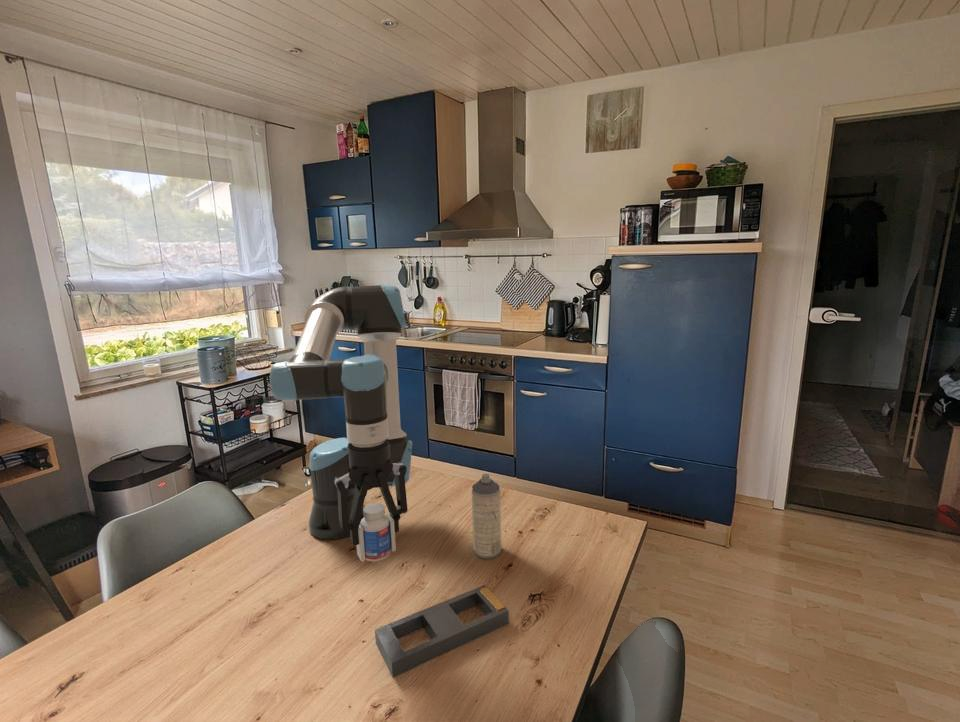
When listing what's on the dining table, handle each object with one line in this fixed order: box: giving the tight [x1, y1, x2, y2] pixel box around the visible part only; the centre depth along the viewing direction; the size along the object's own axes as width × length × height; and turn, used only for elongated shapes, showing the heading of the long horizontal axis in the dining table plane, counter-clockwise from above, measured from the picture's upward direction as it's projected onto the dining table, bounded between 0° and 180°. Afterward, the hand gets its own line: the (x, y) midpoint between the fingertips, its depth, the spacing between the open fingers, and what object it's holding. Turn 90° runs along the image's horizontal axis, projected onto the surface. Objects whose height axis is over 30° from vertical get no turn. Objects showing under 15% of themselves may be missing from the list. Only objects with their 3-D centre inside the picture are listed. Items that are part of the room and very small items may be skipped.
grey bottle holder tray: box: [374, 584, 510, 678], centre depth 93 cm, size 9×24×3 cm, turn 120°
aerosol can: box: [471, 473, 502, 560], centre depth 117 cm, size 7×7×20 cm
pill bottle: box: [360, 502, 392, 562], centre depth 94 cm, size 6×5×10 cm
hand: (376, 552), depth 95 cm, fingers closed on pill bottle, 5 cm apart
